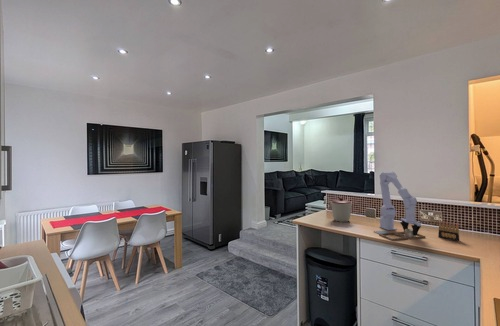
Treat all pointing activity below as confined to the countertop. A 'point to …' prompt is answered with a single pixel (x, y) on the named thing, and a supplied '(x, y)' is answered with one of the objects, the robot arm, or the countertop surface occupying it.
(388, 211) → the robot arm
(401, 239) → the tray near
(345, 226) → the countertop surface
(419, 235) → the tray far
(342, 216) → the canister
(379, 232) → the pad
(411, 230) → the cube
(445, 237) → the ammunition clip
